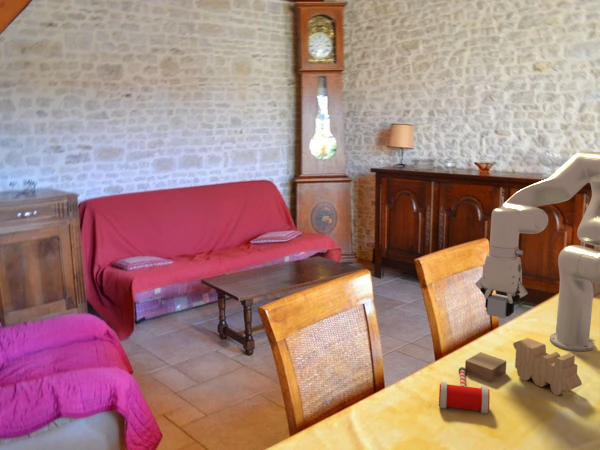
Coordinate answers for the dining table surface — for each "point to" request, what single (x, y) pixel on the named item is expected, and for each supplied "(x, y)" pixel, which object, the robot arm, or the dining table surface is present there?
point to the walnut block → (485, 367)
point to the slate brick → (497, 305)
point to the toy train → (546, 366)
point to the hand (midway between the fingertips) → (499, 312)
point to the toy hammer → (464, 395)
